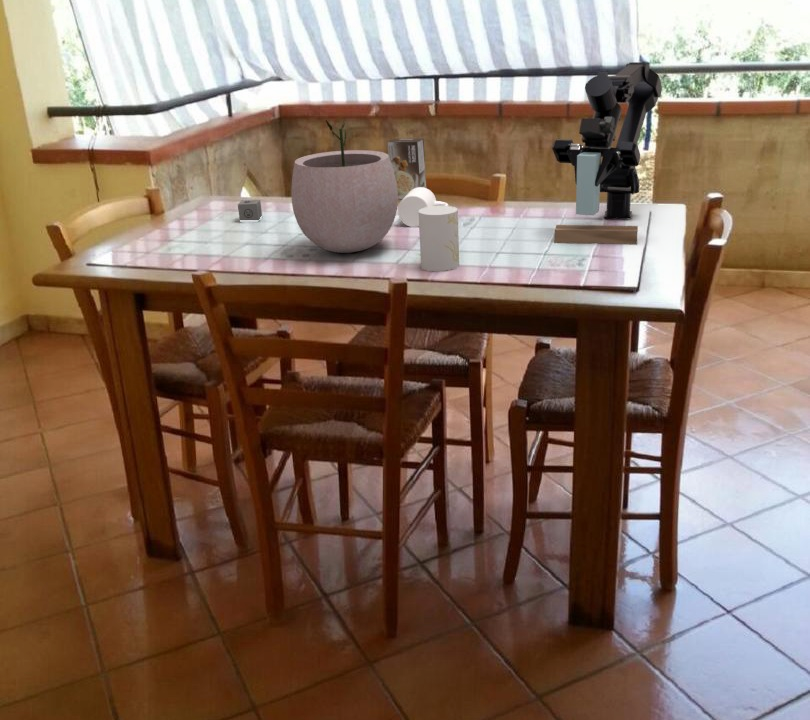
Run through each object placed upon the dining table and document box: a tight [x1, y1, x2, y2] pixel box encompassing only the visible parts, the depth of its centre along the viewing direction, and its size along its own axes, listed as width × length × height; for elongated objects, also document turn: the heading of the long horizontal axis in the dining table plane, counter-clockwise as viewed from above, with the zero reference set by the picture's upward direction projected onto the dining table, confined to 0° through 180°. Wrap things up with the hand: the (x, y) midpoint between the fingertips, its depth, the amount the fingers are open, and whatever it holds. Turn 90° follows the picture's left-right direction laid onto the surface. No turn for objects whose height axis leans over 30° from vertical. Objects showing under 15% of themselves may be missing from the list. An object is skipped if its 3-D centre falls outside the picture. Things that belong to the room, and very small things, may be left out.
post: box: [575, 152, 602, 217], centre depth 193 cm, size 4×4×13 cm
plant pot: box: [291, 116, 399, 254], centre depth 196 cm, size 24×24×30 cm
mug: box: [397, 187, 450, 228], centre depth 220 cm, size 12×10×8 cm
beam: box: [553, 224, 639, 245], centre depth 197 cm, size 4×18×3 cm, turn 75°
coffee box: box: [387, 138, 427, 200], centre depth 247 cm, size 9×6×16 cm
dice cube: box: [237, 199, 263, 221], centre depth 233 cm, size 5×5×5 cm
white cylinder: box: [418, 205, 460, 272], centre depth 184 cm, size 8×8×12 cm
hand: (586, 184), depth 192 cm, fingers closed on post, 4 cm apart
